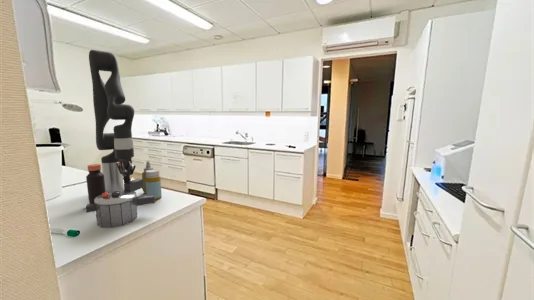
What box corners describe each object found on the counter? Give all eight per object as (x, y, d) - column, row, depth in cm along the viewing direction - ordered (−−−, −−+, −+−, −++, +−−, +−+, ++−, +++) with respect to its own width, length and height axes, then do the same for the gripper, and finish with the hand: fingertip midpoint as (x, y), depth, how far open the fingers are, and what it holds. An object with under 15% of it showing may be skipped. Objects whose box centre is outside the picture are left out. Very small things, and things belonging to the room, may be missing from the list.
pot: (85, 232, 86) (82, 210, 84) (91, 218, 98) (89, 198, 96) (156, 219, 97) (154, 199, 96) (154, 207, 109) (152, 189, 108)
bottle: (144, 199, 120) (141, 171, 117) (155, 195, 126) (154, 168, 123) (152, 201, 116) (150, 173, 114) (164, 197, 123) (162, 170, 120)
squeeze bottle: (147, 196, 124) (144, 163, 121) (139, 193, 128) (136, 161, 125) (161, 192, 131) (159, 161, 128) (152, 189, 135) (150, 159, 132)
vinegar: (107, 206, 110) (103, 165, 107) (89, 209, 106) (84, 167, 103) (106, 201, 116) (102, 163, 113) (89, 204, 112) (85, 164, 109)
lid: (117, 207, 87) (115, 195, 86) (84, 204, 89) (83, 192, 89) (154, 189, 107) (153, 179, 107) (127, 187, 110) (126, 177, 109)
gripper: (108, 147, 108) (111, 183, 110) (123, 149, 101) (126, 187, 104) (124, 145, 114) (127, 179, 117) (140, 147, 107) (142, 183, 110)
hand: (127, 183), depth 110 cm, fingers closed
